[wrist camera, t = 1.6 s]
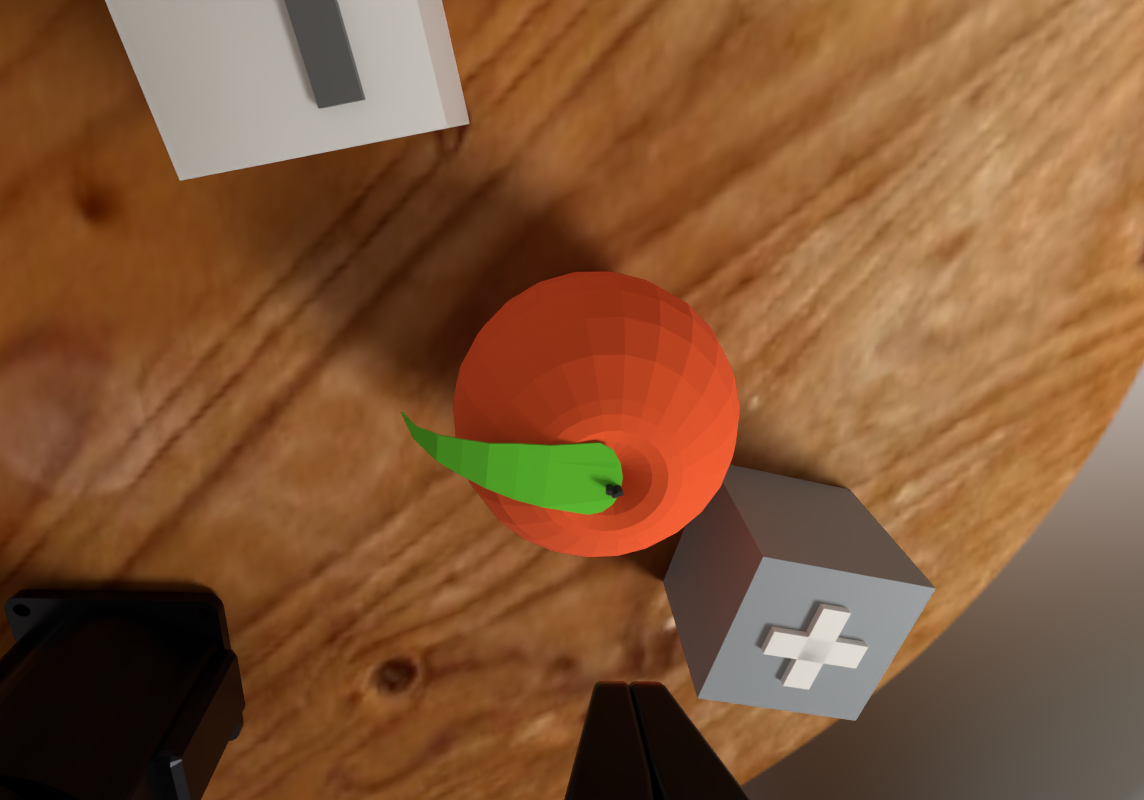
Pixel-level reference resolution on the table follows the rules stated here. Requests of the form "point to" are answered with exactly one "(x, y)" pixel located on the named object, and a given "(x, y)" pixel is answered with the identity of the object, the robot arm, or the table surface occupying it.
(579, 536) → the clementine
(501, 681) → the table surface
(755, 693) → the slate block
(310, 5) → the pale grey block
